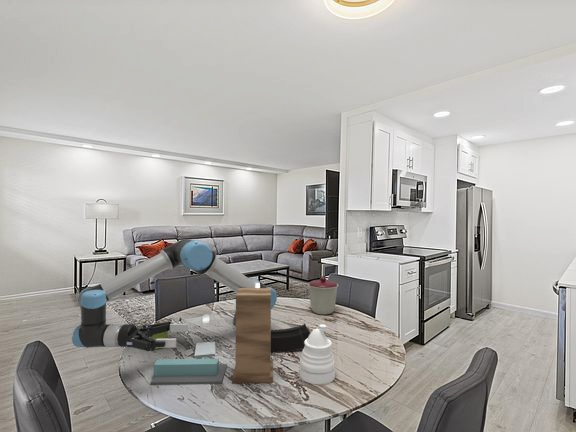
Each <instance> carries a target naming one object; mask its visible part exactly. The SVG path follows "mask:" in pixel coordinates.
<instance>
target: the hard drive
mask: <svg viewBox="0 0 576 432" xmlns="http://www.w3.org/2000/svg"><path fill="white" fill-rule="evenodd" d="M193 357H194V358H193V359H204V358H212V357H216V342H215V341H206V342H197V343H195V350H194V356H193ZM203 357H204V358H203Z"/></svg>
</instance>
